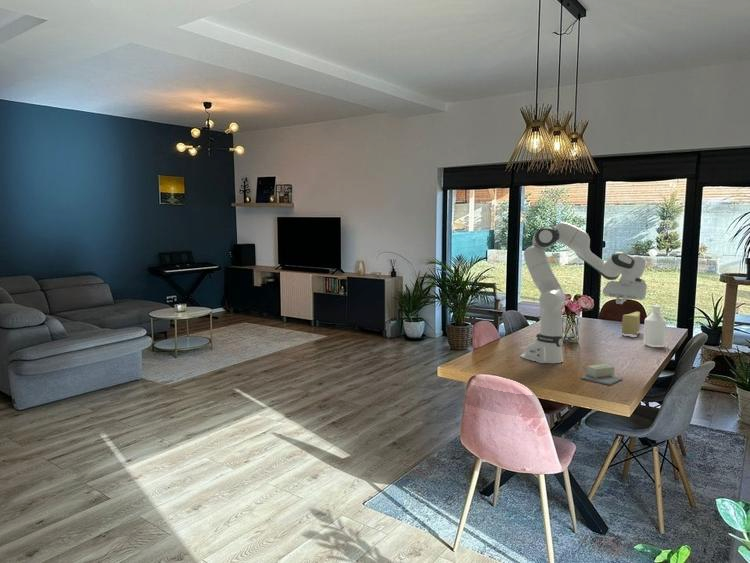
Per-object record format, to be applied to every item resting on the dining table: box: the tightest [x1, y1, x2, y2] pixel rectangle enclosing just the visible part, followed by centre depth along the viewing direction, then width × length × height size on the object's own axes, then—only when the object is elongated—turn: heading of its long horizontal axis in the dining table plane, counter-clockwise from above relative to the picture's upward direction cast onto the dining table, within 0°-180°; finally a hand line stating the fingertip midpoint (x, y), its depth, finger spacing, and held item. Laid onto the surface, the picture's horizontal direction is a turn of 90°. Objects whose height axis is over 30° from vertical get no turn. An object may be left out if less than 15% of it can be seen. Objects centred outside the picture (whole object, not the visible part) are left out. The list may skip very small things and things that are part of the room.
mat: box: [580, 375, 624, 386], centre depth 256 cm, size 14×14×1 cm
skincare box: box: [585, 363, 615, 378], centre depth 261 cm, size 6×4×12 cm
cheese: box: [621, 311, 641, 336], centre depth 367 cm, size 22×10×15 cm, turn 140°
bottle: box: [643, 304, 667, 345], centre depth 332 cm, size 12×12×25 cm
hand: (618, 303), depth 271 cm, fingers closed
